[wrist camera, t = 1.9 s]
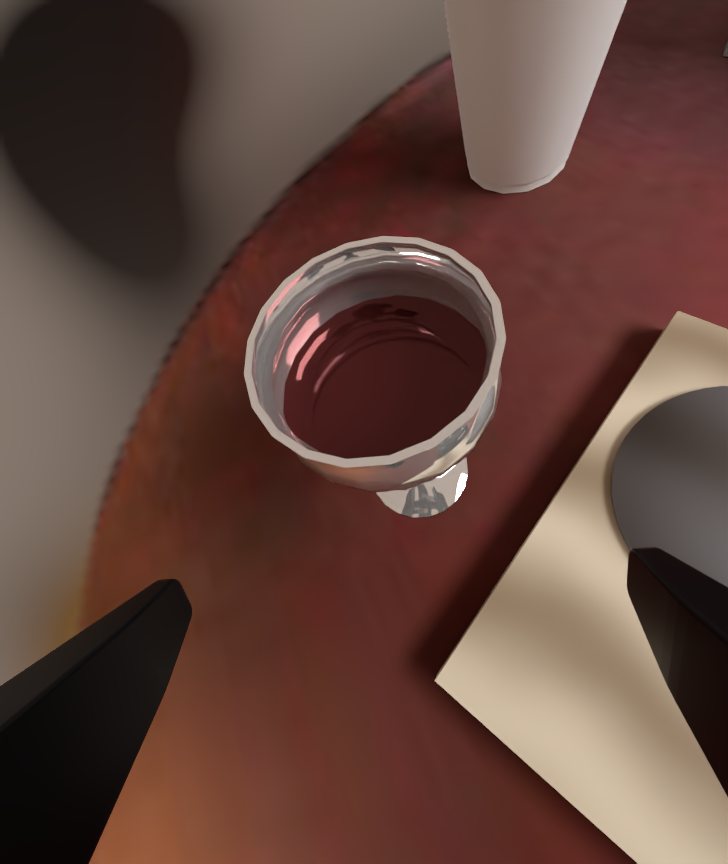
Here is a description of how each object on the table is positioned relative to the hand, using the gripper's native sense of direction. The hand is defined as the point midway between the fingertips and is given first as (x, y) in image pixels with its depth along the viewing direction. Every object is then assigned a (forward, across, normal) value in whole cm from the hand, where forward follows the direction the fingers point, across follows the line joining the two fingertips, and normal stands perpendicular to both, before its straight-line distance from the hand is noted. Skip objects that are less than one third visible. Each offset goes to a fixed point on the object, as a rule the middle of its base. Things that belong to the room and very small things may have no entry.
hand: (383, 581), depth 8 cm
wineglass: (+13, 0, +5) cm, 13 cm away
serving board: (+8, -11, +8) cm, 16 cm away
